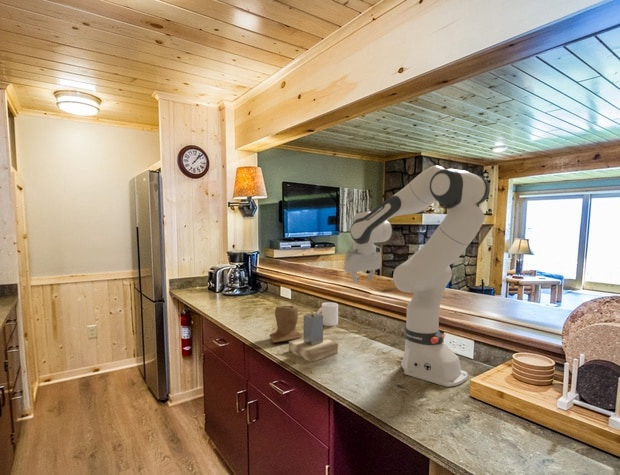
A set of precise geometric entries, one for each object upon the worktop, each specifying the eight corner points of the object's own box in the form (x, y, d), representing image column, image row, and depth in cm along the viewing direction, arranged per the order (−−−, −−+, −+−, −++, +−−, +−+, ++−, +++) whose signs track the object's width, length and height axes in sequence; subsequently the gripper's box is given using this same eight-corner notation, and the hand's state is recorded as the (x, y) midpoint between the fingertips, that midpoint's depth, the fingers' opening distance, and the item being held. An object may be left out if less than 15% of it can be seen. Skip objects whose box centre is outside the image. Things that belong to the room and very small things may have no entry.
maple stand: (337, 353, 140) (337, 343, 140) (310, 362, 131) (310, 351, 131) (315, 343, 151) (315, 334, 150) (288, 351, 142) (288, 341, 142)
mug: (320, 328, 171) (320, 307, 171) (312, 323, 179) (312, 304, 178) (341, 325, 177) (341, 305, 176) (332, 320, 184) (332, 301, 183)
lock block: (323, 342, 140) (323, 312, 140) (311, 345, 137) (311, 315, 136) (314, 339, 144) (315, 310, 144) (303, 342, 141) (303, 312, 140)
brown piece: (293, 332, 165) (293, 301, 164) (305, 340, 155) (305, 306, 154) (263, 337, 158) (263, 305, 157) (274, 346, 147) (273, 311, 147)
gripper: (351, 250, 143) (351, 284, 143) (384, 248, 155) (384, 279, 156) (341, 250, 147) (341, 282, 148) (373, 247, 160) (373, 277, 161)
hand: (363, 280), depth 152 cm, fingers open, 8 cm apart
